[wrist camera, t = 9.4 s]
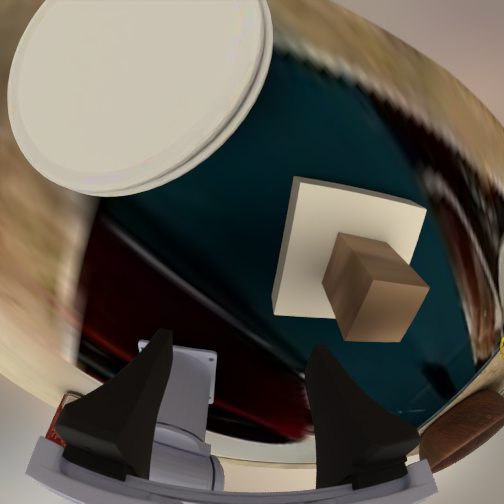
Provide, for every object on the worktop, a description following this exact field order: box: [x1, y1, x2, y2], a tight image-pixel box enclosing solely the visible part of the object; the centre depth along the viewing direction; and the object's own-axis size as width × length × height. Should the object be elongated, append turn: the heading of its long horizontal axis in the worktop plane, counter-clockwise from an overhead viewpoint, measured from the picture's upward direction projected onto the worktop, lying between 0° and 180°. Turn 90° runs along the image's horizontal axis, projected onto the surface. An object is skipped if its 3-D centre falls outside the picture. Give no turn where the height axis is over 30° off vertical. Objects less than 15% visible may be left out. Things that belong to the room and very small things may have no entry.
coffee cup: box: [8, 0, 273, 197], centre depth 10 cm, size 9×9×12 cm
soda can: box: [45, 393, 82, 448], centre depth 26 cm, size 7×7×12 cm
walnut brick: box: [322, 232, 429, 342], centre depth 16 cm, size 4×4×6 cm
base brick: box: [272, 176, 427, 318], centre depth 20 cm, size 10×10×3 cm
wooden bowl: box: [419, 389, 504, 474], centre depth 35 cm, size 25×25×10 cm
